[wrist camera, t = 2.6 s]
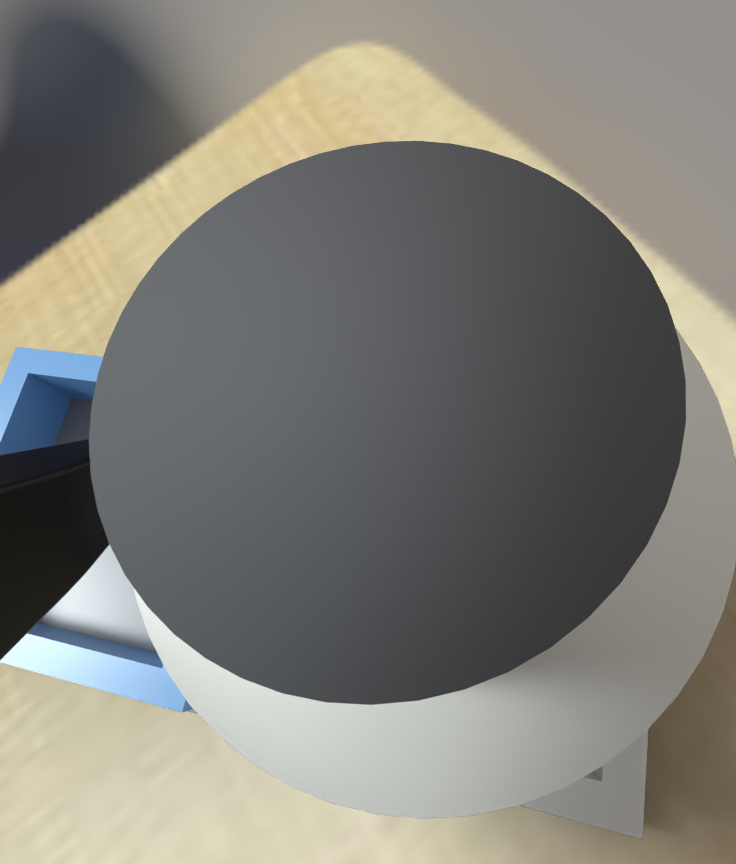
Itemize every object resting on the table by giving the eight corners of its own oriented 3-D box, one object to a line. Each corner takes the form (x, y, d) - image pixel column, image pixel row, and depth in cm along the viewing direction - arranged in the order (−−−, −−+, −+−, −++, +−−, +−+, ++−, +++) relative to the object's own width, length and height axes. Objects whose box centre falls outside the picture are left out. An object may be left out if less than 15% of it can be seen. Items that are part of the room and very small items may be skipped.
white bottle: (489, 727, 14) (532, 1351, 2) (328, 604, 16) (-201, 508, 4) (593, 554, 15) (1097, 203, 3) (430, 454, 16) (287, -41, 4)
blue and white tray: (655, 445, 16) (688, 409, 14) (633, 824, 13) (669, 871, 11) (67, 371, 21) (7, 333, 18) (-36, 642, 18) (-124, 645, 15)
